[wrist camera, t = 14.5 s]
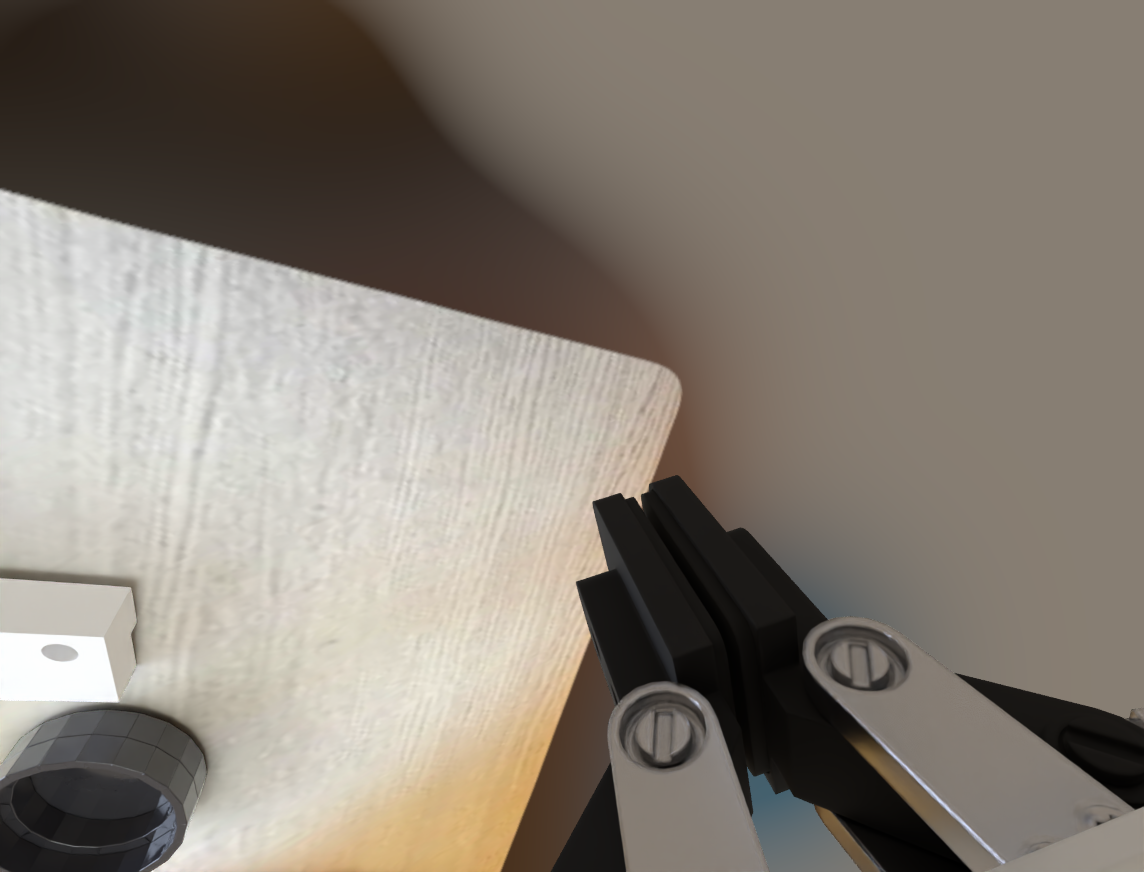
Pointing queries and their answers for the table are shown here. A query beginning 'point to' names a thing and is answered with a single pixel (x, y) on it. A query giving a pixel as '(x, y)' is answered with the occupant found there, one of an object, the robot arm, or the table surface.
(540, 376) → the table surface
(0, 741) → the table surface
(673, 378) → the table surface
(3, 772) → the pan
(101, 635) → the bracket
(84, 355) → the table surface
